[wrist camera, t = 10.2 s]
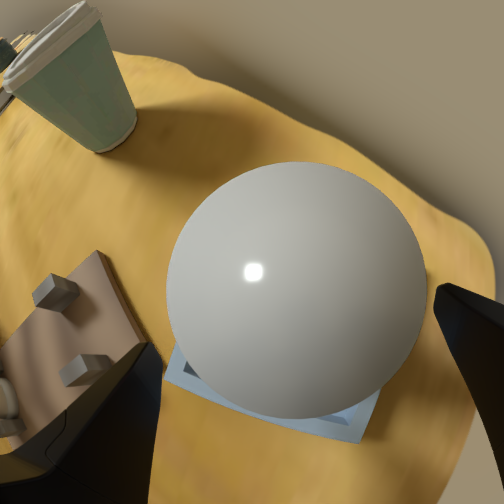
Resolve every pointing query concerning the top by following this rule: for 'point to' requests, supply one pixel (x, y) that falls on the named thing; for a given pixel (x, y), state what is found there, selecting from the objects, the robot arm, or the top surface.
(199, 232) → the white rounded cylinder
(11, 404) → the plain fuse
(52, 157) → the top surface
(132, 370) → the robot arm
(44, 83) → the disposable coffee cup
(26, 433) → the clip rack
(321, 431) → the tray
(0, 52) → the canister
